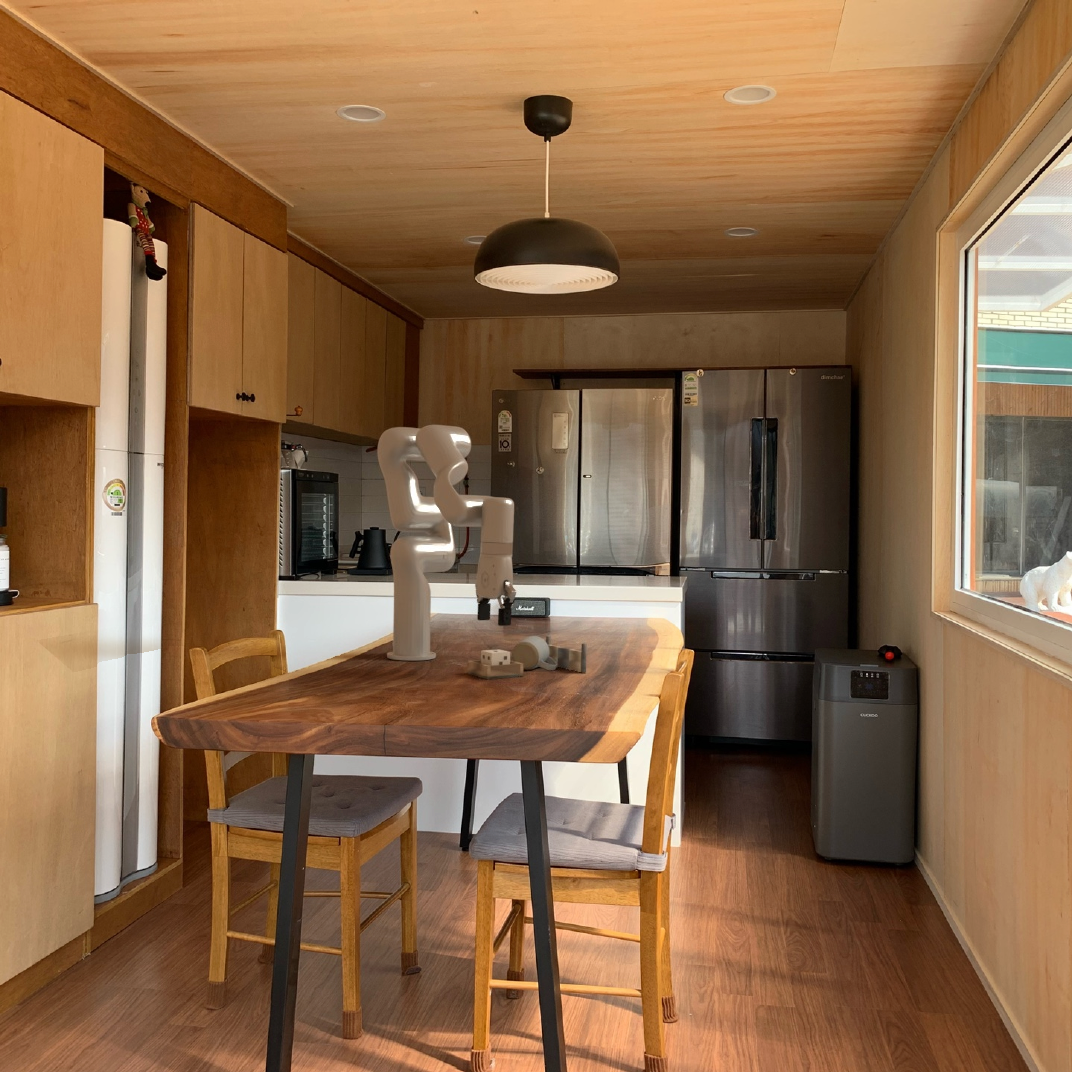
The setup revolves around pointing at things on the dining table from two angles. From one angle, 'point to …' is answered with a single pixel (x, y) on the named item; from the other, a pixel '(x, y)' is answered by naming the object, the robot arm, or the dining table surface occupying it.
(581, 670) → the scoring rail
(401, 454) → the robot arm
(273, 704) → the dining table surface
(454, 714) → the dining table surface
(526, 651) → the ceramic mug
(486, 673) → the felt tray
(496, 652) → the die
